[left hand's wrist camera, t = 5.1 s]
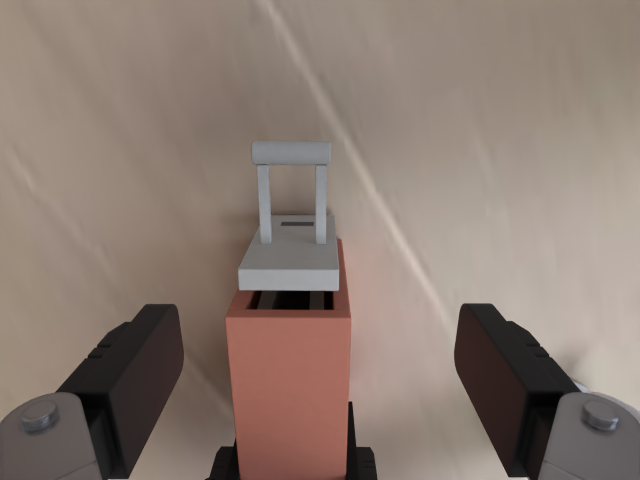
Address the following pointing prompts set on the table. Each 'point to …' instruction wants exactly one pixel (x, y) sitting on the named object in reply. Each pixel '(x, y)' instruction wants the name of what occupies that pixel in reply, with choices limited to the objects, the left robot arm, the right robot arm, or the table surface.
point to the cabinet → (291, 386)
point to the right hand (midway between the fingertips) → (298, 416)
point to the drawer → (291, 236)
